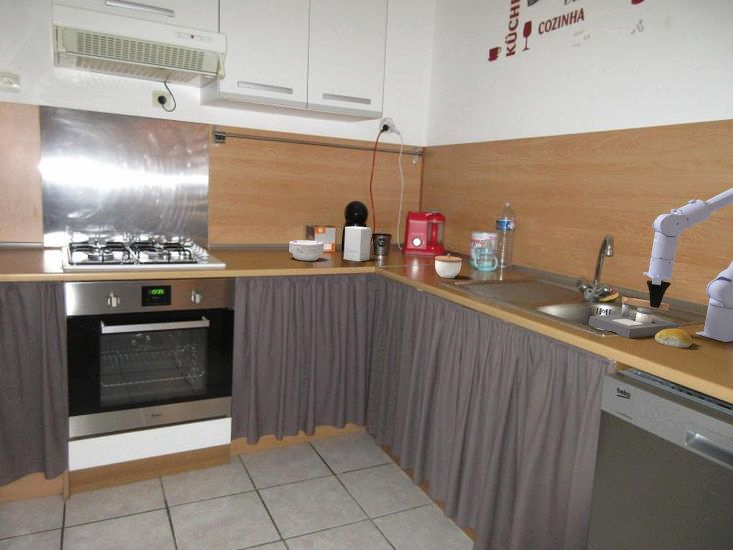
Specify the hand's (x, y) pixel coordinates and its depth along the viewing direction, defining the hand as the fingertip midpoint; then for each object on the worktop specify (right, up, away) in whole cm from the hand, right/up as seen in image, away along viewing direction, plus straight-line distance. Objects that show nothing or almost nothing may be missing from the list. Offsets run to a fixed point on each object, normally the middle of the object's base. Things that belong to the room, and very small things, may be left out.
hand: (654, 307), depth 149 cm
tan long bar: (-1, 0, +3) cm, 3 cm away
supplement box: (-84, +16, +100) cm, 132 cm away
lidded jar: (-47, +8, +69) cm, 84 cm away
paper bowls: (-106, +16, +91) cm, 141 cm away
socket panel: (-5, -6, +2) cm, 8 cm away
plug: (-3, -7, +2) cm, 7 cm away
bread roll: (0, -9, -10) cm, 13 cm away
